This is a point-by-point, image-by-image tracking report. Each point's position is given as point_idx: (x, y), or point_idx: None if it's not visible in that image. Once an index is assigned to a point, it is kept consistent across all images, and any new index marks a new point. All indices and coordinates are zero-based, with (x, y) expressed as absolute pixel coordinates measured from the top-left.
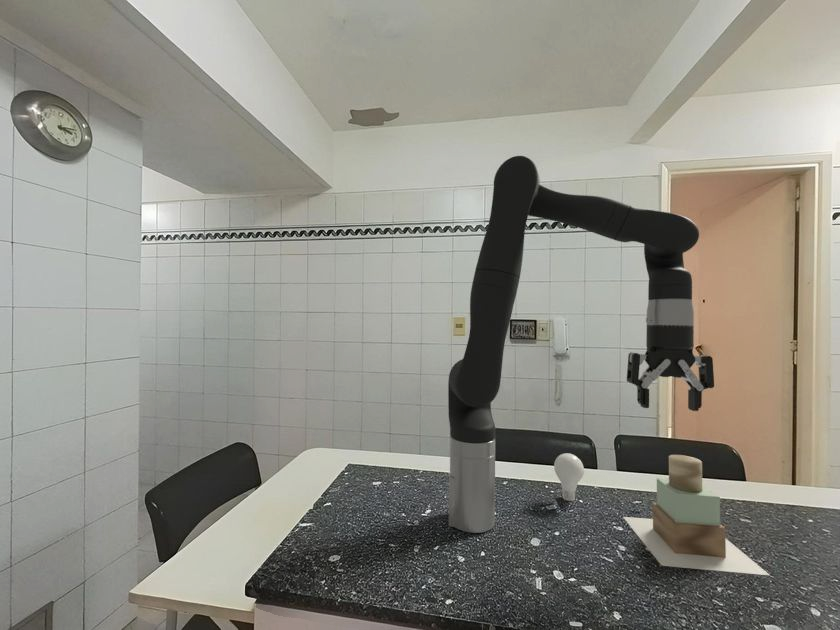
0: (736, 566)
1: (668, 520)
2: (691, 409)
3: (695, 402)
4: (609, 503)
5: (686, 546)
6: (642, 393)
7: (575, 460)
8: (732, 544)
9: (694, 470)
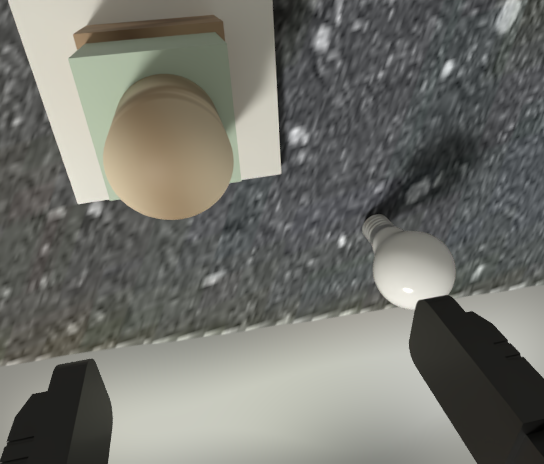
0: None
1: None
2: (101, 385)
3: (69, 417)
4: (280, 249)
5: (186, 18)
6: (528, 382)
7: (419, 272)
8: (45, 105)
9: (151, 94)
